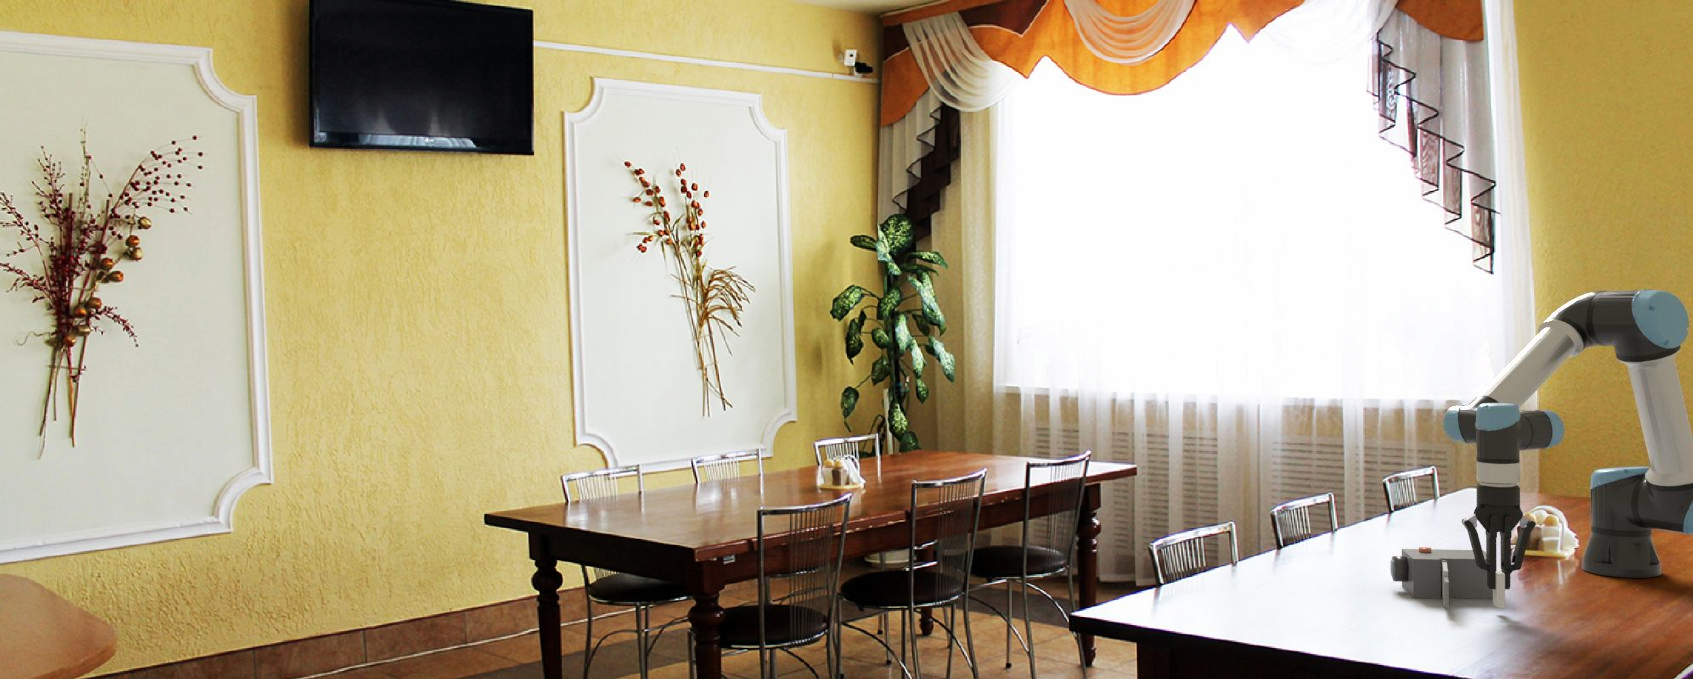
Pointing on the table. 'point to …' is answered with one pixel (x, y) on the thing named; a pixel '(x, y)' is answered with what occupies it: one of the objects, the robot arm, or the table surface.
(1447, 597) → the side door
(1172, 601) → the table surface
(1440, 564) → the housing
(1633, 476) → the robot arm
